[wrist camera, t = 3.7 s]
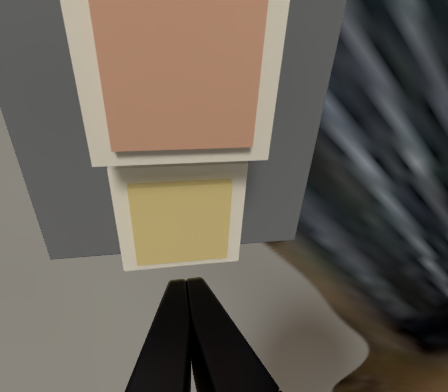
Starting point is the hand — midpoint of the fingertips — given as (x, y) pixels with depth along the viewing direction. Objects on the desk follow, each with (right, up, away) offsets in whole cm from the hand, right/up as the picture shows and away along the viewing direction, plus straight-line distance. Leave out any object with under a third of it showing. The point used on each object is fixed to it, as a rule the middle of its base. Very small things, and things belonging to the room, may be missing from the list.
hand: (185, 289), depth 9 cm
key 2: (0, +7, +1) cm, 7 cm away
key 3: (-1, +3, +5) cm, 6 cm away
